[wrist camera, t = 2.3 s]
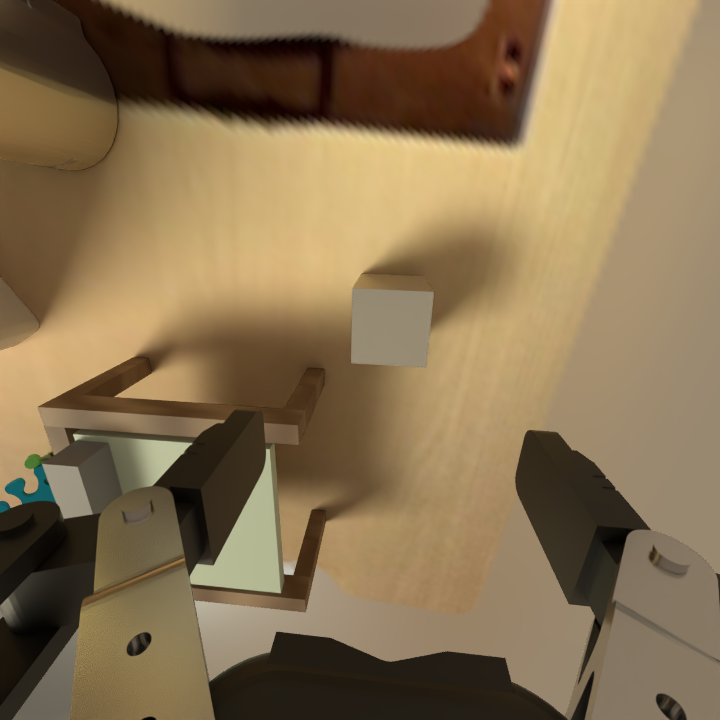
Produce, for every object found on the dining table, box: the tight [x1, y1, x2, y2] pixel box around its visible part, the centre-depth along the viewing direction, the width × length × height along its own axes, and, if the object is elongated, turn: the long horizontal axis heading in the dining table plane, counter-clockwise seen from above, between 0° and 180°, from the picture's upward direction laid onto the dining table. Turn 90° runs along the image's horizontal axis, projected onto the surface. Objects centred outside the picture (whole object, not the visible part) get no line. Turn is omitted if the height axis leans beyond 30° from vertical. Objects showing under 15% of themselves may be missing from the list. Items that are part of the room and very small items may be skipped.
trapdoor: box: [42, 429, 284, 593], centre depth 26 cm, size 14×14×4 cm
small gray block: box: [351, 274, 434, 368], centre depth 26 cm, size 5×5×7 cm
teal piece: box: [0, 454, 56, 513], centre depth 37 cm, size 11×6×10 cm
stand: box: [38, 358, 326, 612], centre depth 31 cm, size 18×18×10 cm
